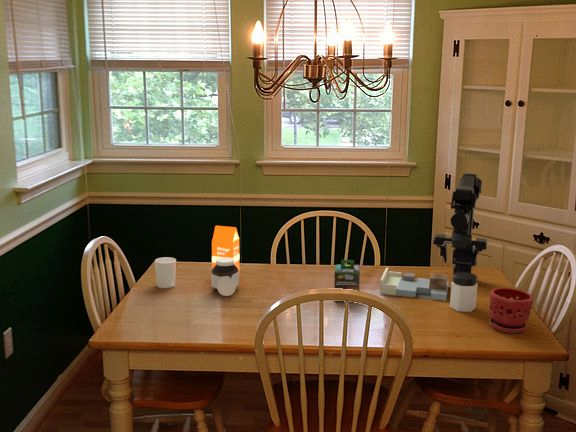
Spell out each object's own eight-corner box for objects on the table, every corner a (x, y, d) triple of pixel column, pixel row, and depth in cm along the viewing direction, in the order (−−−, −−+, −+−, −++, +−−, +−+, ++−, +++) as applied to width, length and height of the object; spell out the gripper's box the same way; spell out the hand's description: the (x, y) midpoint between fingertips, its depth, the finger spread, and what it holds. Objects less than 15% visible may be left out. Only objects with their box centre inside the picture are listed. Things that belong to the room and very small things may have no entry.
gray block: (414, 283, 262) (415, 273, 262) (413, 286, 259) (414, 276, 258) (404, 282, 264) (404, 272, 263) (402, 285, 260) (403, 275, 259)
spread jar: (229, 284, 259) (228, 255, 257) (248, 291, 251) (248, 261, 249) (204, 291, 251) (203, 261, 248) (223, 299, 243) (223, 268, 241)
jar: (480, 310, 236) (483, 277, 233) (461, 313, 233) (464, 280, 230) (463, 302, 244) (465, 270, 241) (445, 305, 241) (447, 273, 238)
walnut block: (446, 284, 255) (447, 274, 254) (445, 290, 249) (446, 279, 248) (430, 283, 256) (431, 273, 255) (429, 288, 250) (429, 278, 250)
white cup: (151, 287, 254) (150, 261, 252) (162, 281, 262) (162, 256, 259) (169, 290, 252) (168, 264, 249) (180, 283, 259) (179, 258, 256)
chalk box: (359, 294, 250) (360, 256, 247) (359, 303, 241) (360, 263, 238) (334, 293, 251) (335, 255, 248) (333, 301, 242) (334, 262, 239)
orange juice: (232, 279, 265) (232, 229, 260) (211, 276, 267) (211, 227, 263) (239, 273, 272) (239, 225, 268) (219, 270, 275) (218, 223, 270)
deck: (448, 287, 260) (449, 273, 258) (445, 301, 245) (447, 286, 243) (385, 280, 266) (386, 267, 265) (379, 294, 251) (380, 279, 250)
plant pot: (520, 339, 212) (523, 303, 210) (480, 328, 221) (483, 293, 218) (535, 327, 222) (539, 293, 219) (497, 317, 230) (500, 283, 228)
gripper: (432, 225, 240) (429, 267, 243) (487, 230, 234) (483, 273, 238) (436, 218, 250) (433, 259, 254) (488, 223, 244) (485, 265, 248)
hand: (458, 264), depth 248 cm, fingers open, 9 cm apart
